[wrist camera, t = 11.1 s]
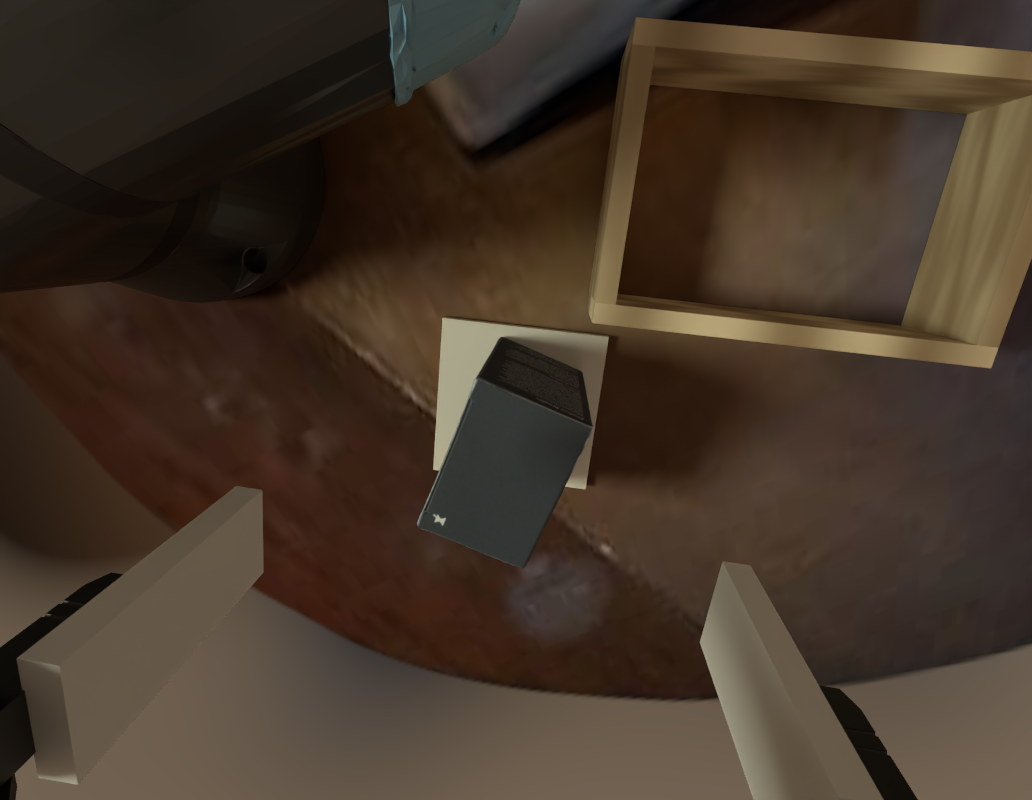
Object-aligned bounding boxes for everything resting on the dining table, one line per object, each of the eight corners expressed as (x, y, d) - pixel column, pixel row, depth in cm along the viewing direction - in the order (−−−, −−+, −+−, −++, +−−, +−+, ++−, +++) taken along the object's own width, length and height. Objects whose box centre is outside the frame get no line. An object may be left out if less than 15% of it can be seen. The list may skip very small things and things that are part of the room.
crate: (586, 307, 33) (592, 322, 27) (621, 60, 29) (636, 17, 23) (913, 344, 32) (991, 368, 26) (993, 94, 28) (1105, 58, 22)
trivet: (435, 465, 36) (433, 469, 36) (444, 316, 33) (442, 317, 33) (585, 485, 36) (585, 489, 35) (608, 335, 33) (608, 337, 32)
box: (534, 477, 35) (523, 574, 25) (453, 443, 35) (410, 527, 25) (586, 369, 33) (597, 429, 23) (500, 332, 33) (473, 375, 23)
